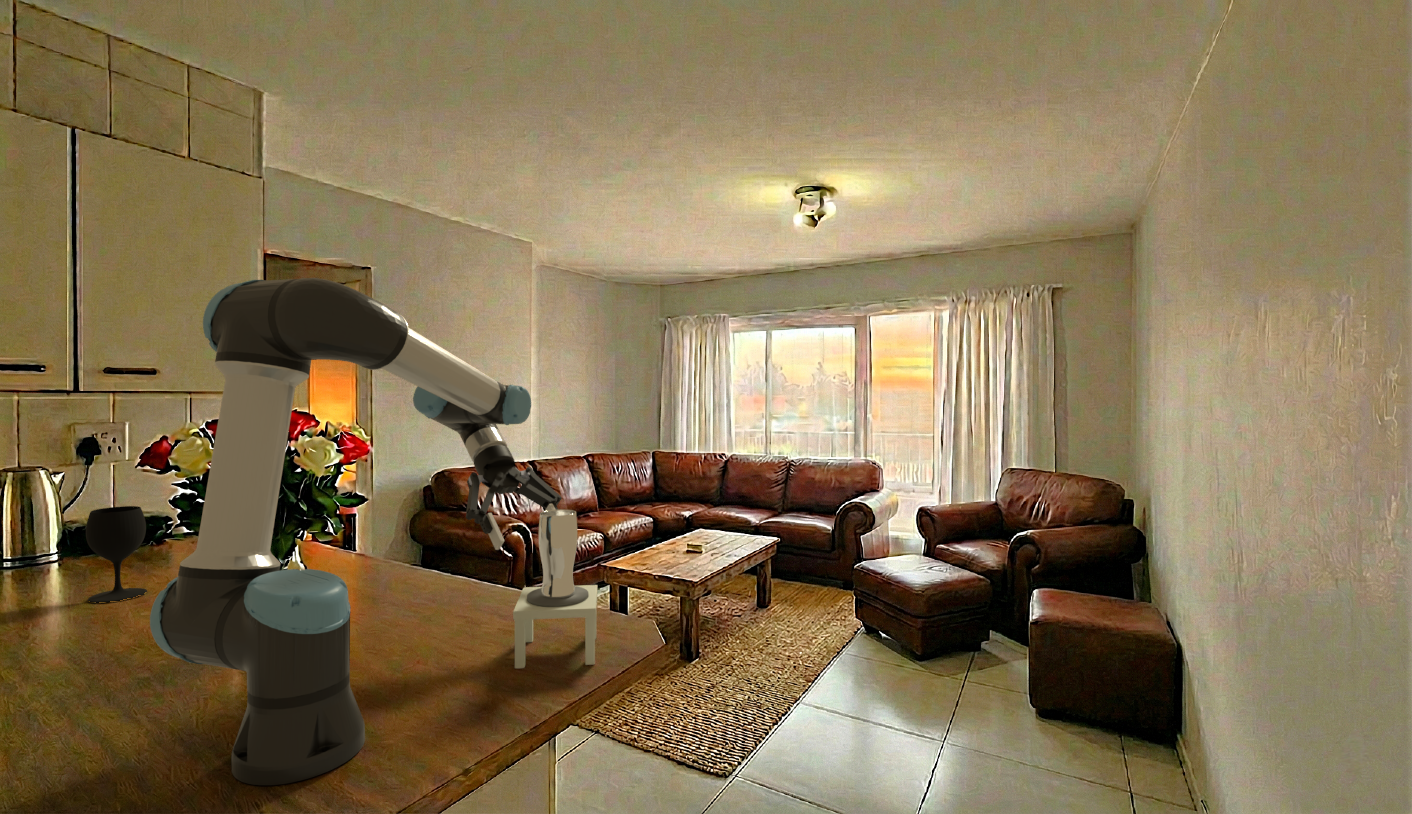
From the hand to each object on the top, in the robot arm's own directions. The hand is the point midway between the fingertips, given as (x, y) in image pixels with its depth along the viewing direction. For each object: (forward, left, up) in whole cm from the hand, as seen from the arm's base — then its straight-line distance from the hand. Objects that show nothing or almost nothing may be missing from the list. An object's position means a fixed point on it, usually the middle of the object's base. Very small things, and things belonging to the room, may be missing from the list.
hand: (532, 539), depth 131 cm
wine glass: (-97, +38, -19) cm, 106 cm away
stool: (+5, -7, -19) cm, 21 cm away
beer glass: (+5, -7, -9) cm, 12 cm away
